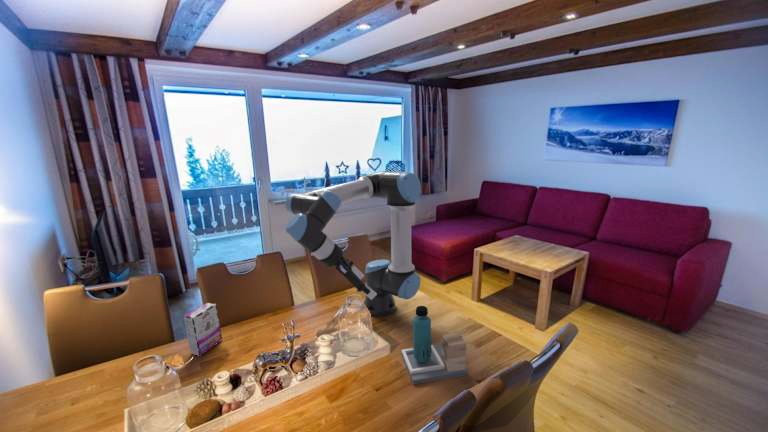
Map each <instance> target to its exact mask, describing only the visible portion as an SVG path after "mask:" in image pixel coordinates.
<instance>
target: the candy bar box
mask: <svg viewBox="0 0 768 432" xmlns="http://www.w3.org/2000/svg"><path fill="white" fill-rule="evenodd" d="M217 308H218V307H217V303H213V302H212V303H211V302H206V303H204V304H203V305H201V306H199V307H197V308H196V309H193V310H192V311H190V312H189V313H187V314H185V315H184V316H183V321H184V326H185V330H186V331H185V332H186V335H187V341H188V347H189V350H190V355H191V354H196V355H199V356H200V355H202V354H203V353H204V352H205V351H207V350H208V349H210V348H211V347H212V346H214V345H215V344H216V343H218V342H219V341H220V340H221V339H222V340H223V336H222V331H221V325H220V319H219V313H218V309H217ZM218 344H219V343H218ZM214 347H215V346H214ZM210 350H211V349H210ZM207 352H208V351H207ZM203 355H204V354H203ZM203 355H202V356H203ZM199 356H198V357H199Z"/></svg>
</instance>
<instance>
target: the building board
mask: <svg viewBox="0 0 768 432" xmlns="http://www.w3.org/2000/svg"><path fill="white" fill-rule="evenodd" d="M400 355H401V358H402V360H403V363H404V365H405V367H406V370H407V372H408V375H409V377H410V381H411V383H412V385H417V384H423V383H428V382H433V381H434V382H435V381H441V380H447V379H452V378H458V377H464V376H468V375H469V370H468V369H467V368H466V366H465V370H459V371H453V372H448V371H447V369H446V367H445V365H444V364H443V362H442V344H436V345H434V344H431V358H430V360H428V361H426V362H420V361H417V360H416V359H415V358H414V356H413V347H412V348H411V347H410V348H405V349H401V350H400Z"/></svg>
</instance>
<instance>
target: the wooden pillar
mask: <svg viewBox="0 0 768 432" xmlns="http://www.w3.org/2000/svg"><path fill="white" fill-rule="evenodd" d="M441 345H442V362H443V364H444V365H445V367H446V369H447V371H448V372H453V371H459V370H465V367H466V357H467V356H466V354H467V342H466V340H465V339H464V338H463V337H462V335H461V334H460V333H459V332H455V333H454V332H453V333H449V334H448V333H447V334H443V335H441Z"/></svg>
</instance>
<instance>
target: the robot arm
mask: <svg viewBox="0 0 768 432" xmlns="http://www.w3.org/2000/svg"><path fill="white" fill-rule="evenodd" d="M421 194H422V185H421V181H420V179H419V177H418V175H416V174H414V173H412V172H409V171H395V170H394V171H392V170H390V171H389V170H383V171H382V170H381V171H377V172H373V173H370V174H365V175H362V176H360V177H358V179H356V180H351V181H347V182H344V183H341V184H340V183H339V184H337V185H332V186H328V187H324V188H320V189H316V190H312V191H307V192H303V193H300V192H297V193H296V192H295V193H291V194H289V195H288V196H287V197H286V200H285V208H286V210H287V212H289V213H290V214H294V216H293V217H292V218H291V219H289V221H288V222H287V224H286V226H285V231H286V233H287V234H288V235H289V236H290V237H291V238H292V239H293V240H294V241H295V242H297V244H298V243H299V245H301V246H302V247H303V248H304V249H305V250H307V251H308V252H309V253H310V256H311V257H313V256H314V257H315V258H316V259H317V260H319V261H320V262H321V264H323V265H324V266H325V267H327V268H332V267H333V266H334V267H335V269H336V270H337V271H338V272H339V273H340V274H341V275H342V276H344V277H345V279H346V280H347V281H348V282H350V283H351V285H352V286H354V287H355V289H356V292H357V293H359V292H360V293H363V294H364V295H365V298H364V301H363V304H365V305H366V307H367V308H368V310H369V311H370V313H371V314H372V315H371V316H375V317H383V316H387V315H391V314H393V312H395V310H396V301H395V299H394V296H395V297H397V298H399V299H403V300H411V299H412V298H414V297H415V296H416V294H417V293H418V292H419V289H420V287H421V283H422V281H421V277H420V274H418V273H416V267H415V265H414V264H413V262H412V209H413V208H414V207H415V205H416V202H417V201H418V200H419V199H420V197H421ZM372 198H377V199H378V198H381V199H384V200H385V199H386V206H387V207H389V209H390V242H391V244H390V247H391V248H390V251H391V252H390V253H391V257H390V258H391V259H390V260H391V261H390V260H388V259H376V260H373V261H369V262H368V263H366V265H365V274H364V273H363V272H361V270H359V268H357V267H356V266H355V265H354V262H353V261H352V260H351V261H350V260H349V259H348V258H346V257H345V256H343V253H344V251H343V249H342V248H341V247H340V246H339V245H337V243H336V242H334V240H332V238H331V237H329V236H328V235H327V234H326V233H324V231H323V230H324V229H325V228H326V226H327V225H328V224H329V223H330V221H331V220H332V218H333V217H334V216H335V215H336V214H337V212H338V210H339V208H340V207H341V205H343V204H346V203H350V202H353V201H357V200H358V199H366V200H368V199H372ZM364 277H365V282H363V280H362V279H363V278H364Z"/></svg>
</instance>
